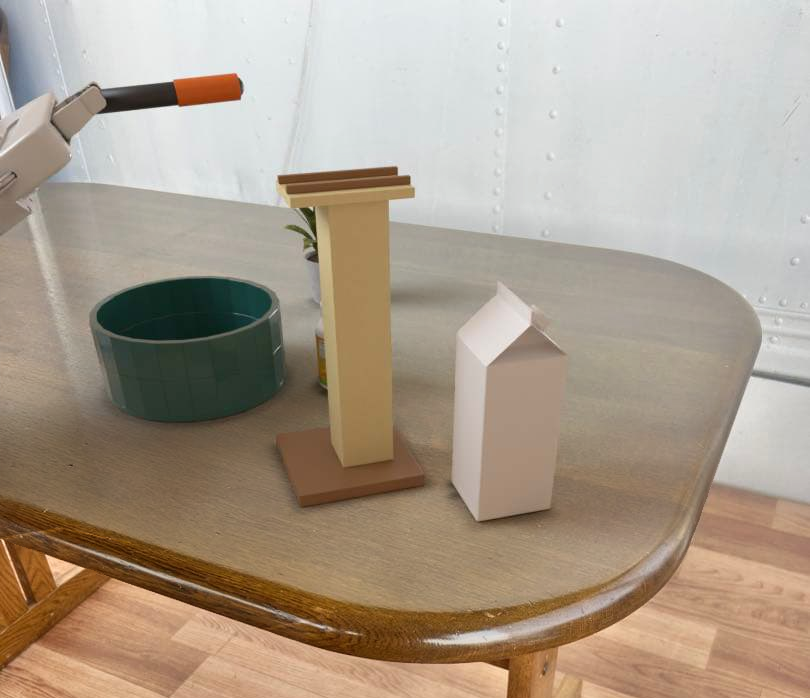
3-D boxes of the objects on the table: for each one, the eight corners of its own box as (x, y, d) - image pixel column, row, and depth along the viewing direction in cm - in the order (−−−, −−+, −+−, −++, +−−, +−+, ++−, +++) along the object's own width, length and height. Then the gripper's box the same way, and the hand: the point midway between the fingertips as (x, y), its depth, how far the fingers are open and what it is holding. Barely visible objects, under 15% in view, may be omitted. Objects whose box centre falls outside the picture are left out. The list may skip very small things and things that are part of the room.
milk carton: (476, 523, 72) (489, 316, 60) (450, 482, 77) (457, 285, 66) (550, 510, 73) (575, 306, 62) (520, 471, 79) (537, 276, 68)
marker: (76, 120, 75) (68, 92, 74) (76, 115, 77) (68, 88, 75) (247, 101, 78) (243, 74, 77) (244, 97, 80) (239, 70, 79)
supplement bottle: (336, 369, 98) (331, 290, 92) (374, 379, 96) (371, 298, 90) (310, 386, 94) (303, 305, 88) (348, 397, 92) (344, 314, 86)
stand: (300, 507, 74) (269, 201, 58) (276, 445, 83) (244, 166, 67) (424, 485, 77) (427, 187, 61) (388, 427, 86) (382, 156, 70)
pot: (109, 434, 85) (89, 354, 80) (105, 358, 101) (88, 286, 96) (302, 406, 90) (295, 328, 85) (269, 337, 106) (261, 268, 101)
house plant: (358, 326, 109) (353, 198, 99) (265, 314, 112) (251, 190, 103) (393, 291, 120) (392, 172, 110) (308, 281, 123) (299, 166, 114)
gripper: (-59, 174, 66) (74, 71, 65) (-30, 130, 82) (77, 47, 81) (2, 239, 70) (128, 143, 69) (19, 185, 86) (122, 107, 85)
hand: (101, 91), depth 75 cm, fingers closed on marker, 2 cm apart
